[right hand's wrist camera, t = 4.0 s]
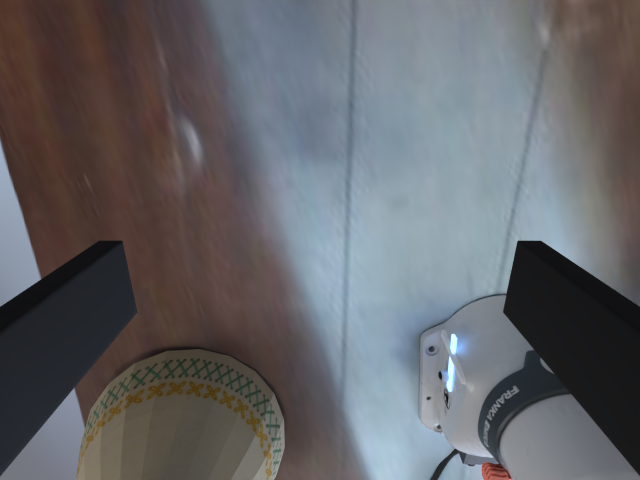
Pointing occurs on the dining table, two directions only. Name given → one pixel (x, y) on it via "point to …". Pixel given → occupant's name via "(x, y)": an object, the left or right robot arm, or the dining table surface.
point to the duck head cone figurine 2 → (184, 422)
